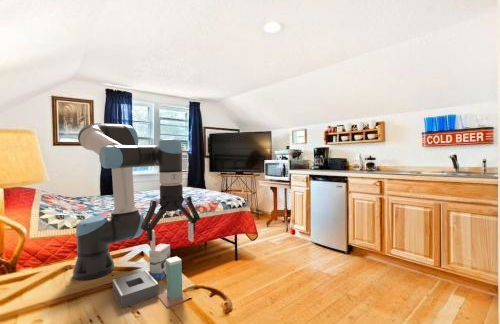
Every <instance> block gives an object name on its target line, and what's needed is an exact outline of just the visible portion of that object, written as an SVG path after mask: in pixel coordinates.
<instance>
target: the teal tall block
mask: <svg viewBox="0 0 500 324" xmlns="http://www.w3.org/2000/svg"><path fill="white" fill-rule="evenodd" d="M182 265H183V263H182V259H181V257H178V256H177V255H176V256H173V257H170V258H168V259H166V276H165V277H166V278H165V279H166V292H167V296H168V297H169V299H170V300H171V301H172V300H175V299H177V298H180V297H183V293H182V287H183V271H182V269H183V267H182Z"/></svg>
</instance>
